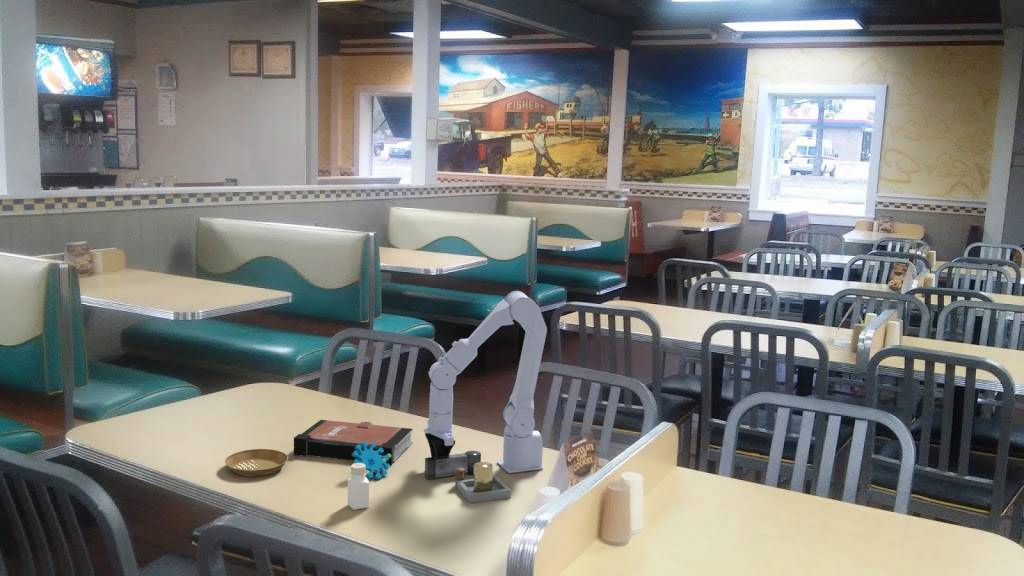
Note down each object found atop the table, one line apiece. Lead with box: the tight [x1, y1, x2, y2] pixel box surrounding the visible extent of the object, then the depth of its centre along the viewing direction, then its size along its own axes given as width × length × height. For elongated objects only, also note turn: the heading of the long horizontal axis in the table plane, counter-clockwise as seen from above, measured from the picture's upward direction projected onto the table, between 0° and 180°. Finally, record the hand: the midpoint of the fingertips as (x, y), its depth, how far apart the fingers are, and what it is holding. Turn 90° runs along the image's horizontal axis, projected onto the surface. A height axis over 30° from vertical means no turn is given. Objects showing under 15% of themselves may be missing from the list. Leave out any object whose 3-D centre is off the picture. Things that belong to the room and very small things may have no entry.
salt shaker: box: [347, 463, 370, 511], centre depth 193 cm, size 4×4×10 cm
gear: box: [352, 442, 391, 480], centre depth 213 cm, size 11×6×10 cm
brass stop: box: [473, 461, 494, 493], centre depth 203 cm, size 4×4×6 cm
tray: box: [456, 475, 512, 504], centre depth 203 cm, size 10×9×2 cm
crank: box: [424, 450, 482, 480], centre depth 213 cm, size 14×4×5 cm, turn 115°
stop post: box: [454, 468, 465, 488], centre depth 207 cm, size 2×2×4 cm
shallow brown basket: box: [224, 448, 289, 478], centre depth 214 cm, size 15×15×3 cm
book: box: [293, 419, 414, 466], centre depth 229 cm, size 26×18×5 cm
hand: (439, 464), depth 216 cm, fingers open, 3 cm apart
